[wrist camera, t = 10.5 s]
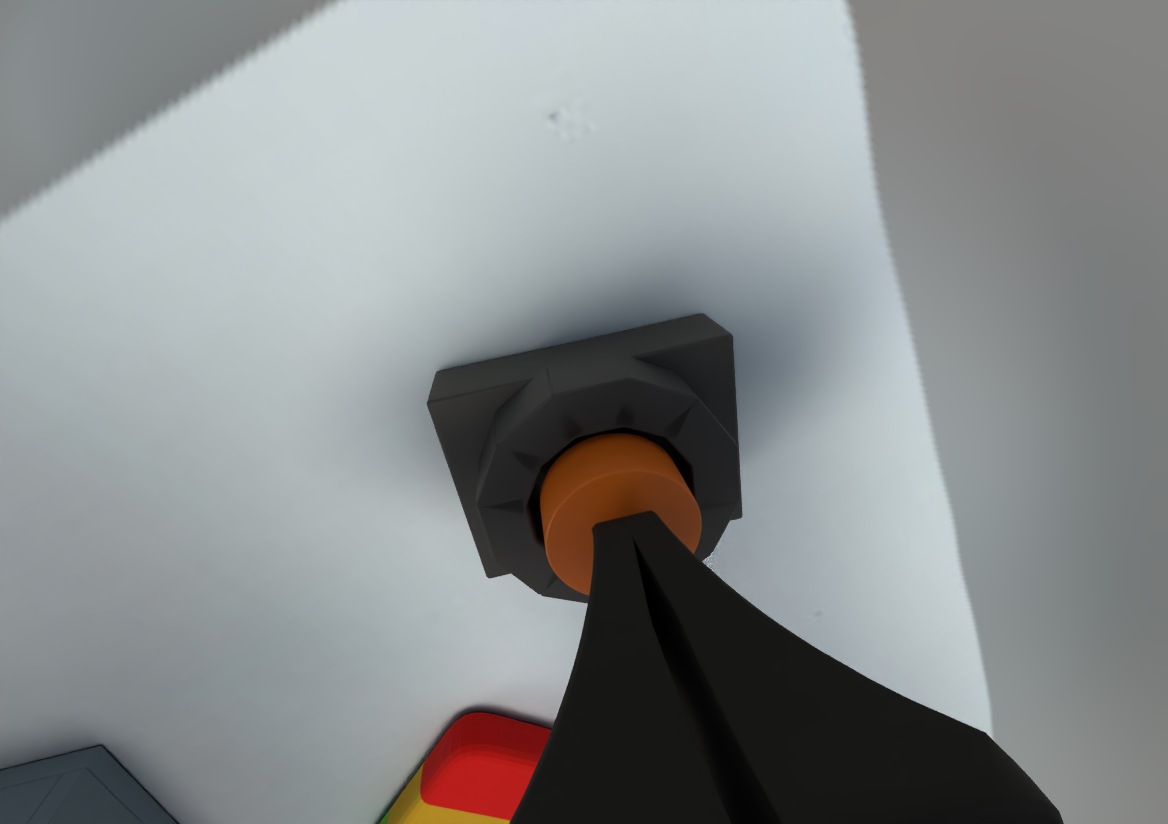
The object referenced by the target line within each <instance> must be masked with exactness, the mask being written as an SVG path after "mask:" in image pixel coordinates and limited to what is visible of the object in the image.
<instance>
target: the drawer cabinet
mask: <svg viewBox="0 0 1168 824" xmlns="http://www.w3.org/2000/svg"><path fill="white" fill-rule="evenodd" d="M0 824H177V823H176V822H175V821H174V820H173V819H172V818H171V817H170V816H169V815H168V814H167V813H166V812H165V811H164V810H163V809H162V808H161V807H160V806H159V805H158V804H157V803H156V802H155V801H154V800H153V799H152V798H151V797H150V795H149V794H148V793H147V792H146V791H145V790H144V789H143V788H142V787H141V786H140V785H139V784H138V783H137V782H136V781H135V780H134V779H133V778H132V777H131V776H130V775H129V774H128V773H127V772H126V771H125V770H124V769H123V768H122V767H121V766H120V765H119V764H118V763H117V762H116V760H115V759H114V758H113V757H112V756H111V755H110V754H109V753H108V752H107V751H106V750H105V749H104V748H103V747H102V746H98V747H94V748H89V749H85V750H81V751H77V752H73V753H69V754H65V755H61V756H57V757H53V758H49V759H45V760H41V761H37V762H33V763H29V764H25V765H21V766H17V767H13V768H9V769H5V770H1V771H0Z"/></svg>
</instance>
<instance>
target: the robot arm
mask: <svg viewBox="0 0 1168 824" xmlns="http://www.w3.org/2000/svg"><path fill="white" fill-rule="evenodd" d="M592 534H593V544H594V554H593V571H592V579H591V586H590V594H589V601H588V606H587V611H586V616H585V621H584V626H583V631H582V635H581V640H580V644H579V648H578V651H577V655H576V659H575V662H574V666H573V669H572V672H571V676H570V679H569V682H568V686H567V688H566V691H565V694H564V697H563V700H562V703H561V706H560V709H559V712H558V714H557V717H556V720H555V722H554V725H553V728H552V730H551V733H550V735H549V738H548V740H547V743H546V745H545V747H544V749H543V752H542V754H541V756H540V759H539V761H538V763H537V766H536V768H535V770H534V773H533V775H532V777H531V779H530V782H529V784H528V786H527V788H526V791H525V793H524V795H523V797H522V799H521V801H520V803H519V805H518V807H517V809H516V811H515V813H514V815H513V817H512V819H511V821H510V823H509V824H1064V823H1063V820H1062V818H1061V815H1060V813H1059V811H1058V810H1057V808H1056V807H1055V806H1054V805H1053V804H1052V803H1051V801H1050V800H1049V799H1048V798H1047V797H1046V796H1045V794H1044V793H1043V792H1042V791H1041V790H1040V789H1039V787H1038V786H1037V785H1036V784H1035V783H1034V782H1033V780H1032V779H1031V778H1030V777H1029V776H1028V775H1027V774H1026V773H1025V772H1024V771H1023V770H1022V769H1021V768H1020V767H1019V766H1018V764H1017V763H1016V762H1015V761H1014V760H1013V759H1012V758H1011V757H1010V756H1008V755H1007V754H1006V753H1005V752H1004V751H1003V750H1002V749H1001V748H1000V747H999V746H998V745H997V744H996V743H995V742H994V741H993V740H992V739H991V738H990V737H989V736H988V735H987V734H986V733H985V732H983V731H980V730H978V729H976V728H973V727H971V726H969V725H967V724H964V723H962V722H960V721H958V720H955V719H953V718H951V717H949V716H946V715H944V714H942V713H939V712H937V711H935V710H933V709H930V708H928V707H926V706H924V705H921V704H919V703H917V702H915V701H912V700H910V699H908V698H906V697H904V696H902V695H900V694H898V693H896V692H894V691H892V690H890V689H888V688H886V687H884V686H882V685H880V684H878V683H877V682H875V681H873V680H871V679H869V678H867V677H865V676H864V675H862V674H860V673H858V672H857V671H855V670H853V669H851V668H850V667H848V666H846V665H844V664H843V663H841V662H839V661H837V660H836V659H834V658H832V657H830V656H829V655H827V654H825V653H823V652H822V651H820V650H818V649H817V648H815V647H813V646H812V645H810V644H809V643H807V642H806V641H804V640H803V639H801V638H799V637H798V636H796V635H795V634H793V633H792V632H790V631H789V630H787V629H786V628H784V627H783V626H781V625H780V624H779V623H777V622H776V621H774V620H773V619H771V618H770V617H769V616H767V615H766V614H764V613H763V612H762V611H760V610H759V609H758V608H756V607H755V606H754V605H752V604H751V603H750V602H749V601H747V600H746V599H745V598H744V597H742V596H741V595H740V594H739V593H737V592H736V591H735V590H734V589H732V588H731V587H730V586H729V585H728V584H726V583H725V582H724V581H723V580H722V579H721V578H719V577H718V576H717V575H716V574H715V573H714V572H713V571H712V570H711V569H709V568H708V567H707V566H706V565H705V564H704V563H703V562H702V561H701V560H700V559H699V558H698V557H696V556H695V555H694V554H693V553H692V552H691V551H690V550H689V549H688V548H687V547H686V546H685V545H684V544H683V543H682V542H681V541H680V540H679V539H678V538H677V536H676V535H675V534H674V533H673V532H672V531H671V530H670V529H669V528H668V527H667V525H666V524H665V523H664V522H663V521H662V520H661V518H660V517H659V516H658V515H657V513H655V512H653V511H652V510H650V511H646V512H642V513H638V514H633V515H629V516H625V517H621V518H616V519H612V520H608V521H604V522H600V523H596V524H595V525H594V526H593V528H592Z"/></svg>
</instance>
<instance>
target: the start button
mask: <svg viewBox="0 0 1168 824" xmlns="http://www.w3.org/2000/svg"><path fill="white" fill-rule="evenodd" d="M540 509H541V517H542V525H543V534H544V542H545V550H546V555H547V558H548V561H549V564H550V565H551V567H552V569H553V571H554V572H555V573H556V575H557V576H558V577H559V578H560V579H561V580H562V581H563V582H564V583H565V584H567V585H568V586H570V587H571V588H573V589H575V590H577V591H579V592H581V593H583V594H586V595H589V594H590V586H591V579H592V571H593V554H594V544H593V534H592V528H593V526H594V525H595V524H596V523H600V522H604V521H608V520H612V519H616V518H621V517H625V516H629V515H633V514H638V513H642V512H646V511H650V510H652V511H653V512H655V513H657V515H658V516H659V517H660V518H661V520H662V521H663V522H664V523H665V524H666V525H667V527H668V528H669V529H670V530H671V531H672V532H673V533H674V534H675V535H676V536H677V538H678V539H679V540H680V541H681V542H682V543H683V544H684V545H685V546H686V547H687V548H688V549H689V550H690V551H691V552H692V553H693V554H694V552H695V550H696V548H697V546H698V543H699V539H700V535H701V528H702V525H701V514H700V510H699V507H698V504H697V502H696V500H695V498H694V497H693V495H692V493H691V491H690V490H689V488H688V486H687V484H686V483H685V481H684V479H683V478H682V476H681V474H680V472H679V471H678V469H677V467H676V465H675V464H674V462H673V460H672V458H671V457H670V456H669V455H668V453H667V452H666V451H665V450H664V449H662V448H661V447H660V446H659V445H657V444H656V443H654V442H652V441H650V440H648V439H646V438H644V437H641V436H638V435H633V434H628V433H608V434H602V435H597V436H594V437H590V438H588V439H586V440H583V441H581V442H579V443H577V444H575V445H574V446H572V447H571V448H569V449H568V450H566V451H565V452H564V453H563V454H562V455H561V456H560V457H559V458H558V459H557V460H556V461H555V462H554V463H553V465H552V466H551V467H550V469H549V471H548V472H547V474H546V476H545V478H544V481H543V484H542V487H541V493H540Z"/></svg>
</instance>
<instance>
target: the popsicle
mask: <svg viewBox="0 0 1168 824" xmlns="http://www.w3.org/2000/svg"><path fill="white" fill-rule="evenodd" d="M550 733H551V730H550V729H547V728H544V727H540V726H536V725H532V724H529V723H525V722H521V721H517V720H514V719H510V718H506V717H502V716H499V715H495V714H489V713H484V712H474V713H470V714H467V715H464V716H463V717H461V718H460V719H458V720H456V721H455V722H454V723H453V724H452V725H451V727H450V728H449V729H448V730H447V731H446V733H445V734H444V736H443V737H442V738H441V740H440V741H439V742H438V744H437V745H436V746H435V748H434V749H433V751H432V752H431V753H430V755H429V756H428V757H427V759H426V760H425V762H424V763H423V764H422V766H421V767H420V768H419V770H418V771H417V773H416V774H415V775H414V777H413V778H412V779H411V781H410V782H409V784H408V785H407V786H406V788H405V789H404V790H403V792H402V793H401V794H400V796H399V797H398V799H397V800H396V801H395V803H394V804H393V805H392V807H391V808H390V810H389V811H388V812H387V814H386V815H385V816H384V818H383V819H382V821H381V822H380V823H379V824H509V823H510V821H511V819H512V817H513V815H514V813H515V811H516V809H517V807H518V805H519V803H520V801H521V799H522V797H523V795H524V793H525V791H526V788H527V786H528V784H529V782H530V779H531V777H532V775H533V773H534V770H535V768H536V766H537V763H538V761H539V759H540V756H541V754H542V752H543V749H544V747H545V745H546V743H547V740H548V738H549V735H550Z"/></svg>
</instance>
